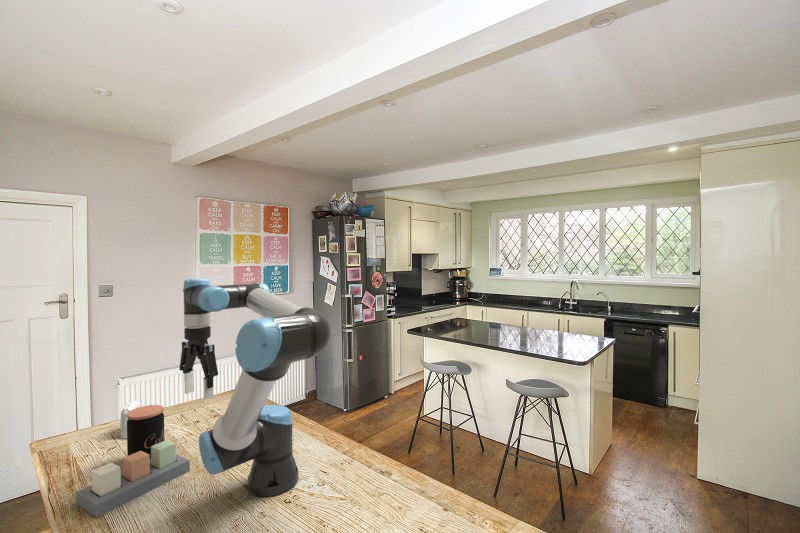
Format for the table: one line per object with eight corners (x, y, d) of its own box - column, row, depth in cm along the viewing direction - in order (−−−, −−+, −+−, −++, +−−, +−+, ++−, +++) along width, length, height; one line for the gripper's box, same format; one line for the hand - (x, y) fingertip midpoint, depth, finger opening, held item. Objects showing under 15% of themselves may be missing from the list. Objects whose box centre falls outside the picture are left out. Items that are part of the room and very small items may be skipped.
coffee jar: (146, 473, 125) (145, 418, 124) (119, 469, 127) (118, 415, 127) (172, 456, 135) (171, 405, 135) (146, 453, 137) (145, 403, 137)
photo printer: (131, 428, 158) (131, 398, 158) (143, 427, 159) (142, 397, 158) (119, 439, 148) (118, 408, 148) (131, 438, 149) (131, 407, 148)
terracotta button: (149, 473, 119) (149, 454, 118) (132, 481, 114) (131, 462, 114) (141, 469, 121) (140, 450, 121) (123, 477, 117) (123, 457, 117)
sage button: (175, 461, 126) (175, 443, 125) (159, 469, 121) (159, 450, 121) (167, 457, 128) (166, 440, 128) (151, 464, 124) (150, 446, 124)
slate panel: (189, 470, 126) (189, 460, 126) (96, 517, 103) (96, 504, 103) (168, 461, 132) (168, 451, 132) (76, 503, 109) (75, 491, 109)
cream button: (120, 487, 112) (120, 466, 112) (100, 496, 107) (100, 475, 107) (112, 482, 114) (111, 462, 114) (92, 491, 110) (91, 470, 110)
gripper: (230, 327, 122) (231, 397, 122) (188, 321, 133) (189, 386, 133) (208, 331, 115) (209, 405, 116) (166, 325, 126) (167, 392, 127)
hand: (198, 395), depth 124 cm, fingers open, 9 cm apart
